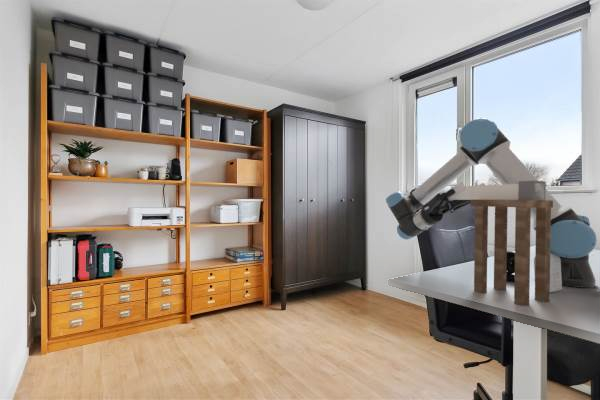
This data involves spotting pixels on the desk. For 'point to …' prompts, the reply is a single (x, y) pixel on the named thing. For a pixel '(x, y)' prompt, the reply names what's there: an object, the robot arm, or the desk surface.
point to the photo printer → (554, 272)
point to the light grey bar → (505, 191)
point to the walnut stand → (520, 247)
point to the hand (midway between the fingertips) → (474, 186)
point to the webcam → (510, 266)
